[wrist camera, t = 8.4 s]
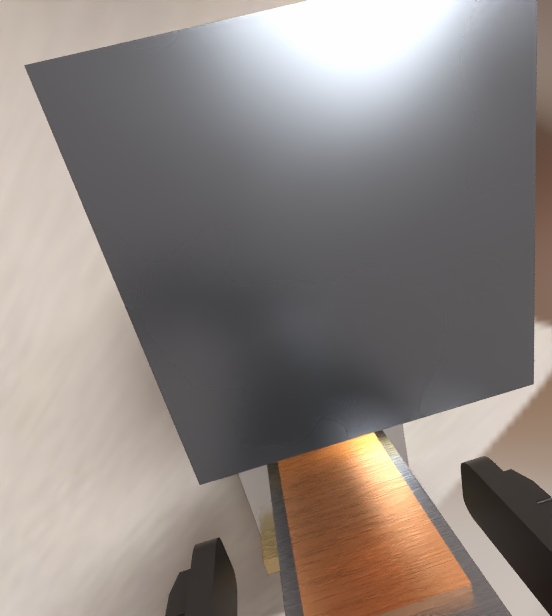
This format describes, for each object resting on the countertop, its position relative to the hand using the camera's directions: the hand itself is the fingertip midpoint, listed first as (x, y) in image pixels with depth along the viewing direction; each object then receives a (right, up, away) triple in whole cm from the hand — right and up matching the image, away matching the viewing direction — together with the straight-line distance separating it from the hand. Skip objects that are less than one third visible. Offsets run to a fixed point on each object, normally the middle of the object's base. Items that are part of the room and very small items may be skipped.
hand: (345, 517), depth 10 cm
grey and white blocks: (-2, +5, +3) cm, 6 cm away
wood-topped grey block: (0, +1, +2) cm, 3 cm away
